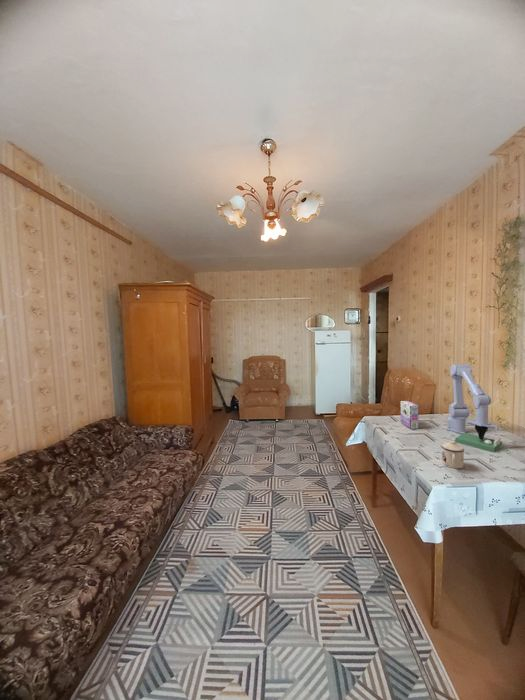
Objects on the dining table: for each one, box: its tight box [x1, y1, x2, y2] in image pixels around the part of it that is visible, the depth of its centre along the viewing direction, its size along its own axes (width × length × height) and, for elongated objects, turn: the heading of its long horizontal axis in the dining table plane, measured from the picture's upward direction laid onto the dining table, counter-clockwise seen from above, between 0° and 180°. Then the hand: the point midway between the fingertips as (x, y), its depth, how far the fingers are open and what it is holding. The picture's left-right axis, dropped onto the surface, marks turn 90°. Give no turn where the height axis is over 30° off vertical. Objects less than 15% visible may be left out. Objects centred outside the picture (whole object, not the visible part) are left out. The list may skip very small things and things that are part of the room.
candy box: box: [399, 400, 420, 430], centre depth 191 cm, size 14×6×16 cm, turn 179°
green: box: [454, 432, 503, 453], centre depth 157 cm, size 18×14×5 cm
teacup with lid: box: [441, 440, 465, 469], centre depth 133 cm, size 12×9×12 cm
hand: (481, 438), depth 156 cm, fingers closed
